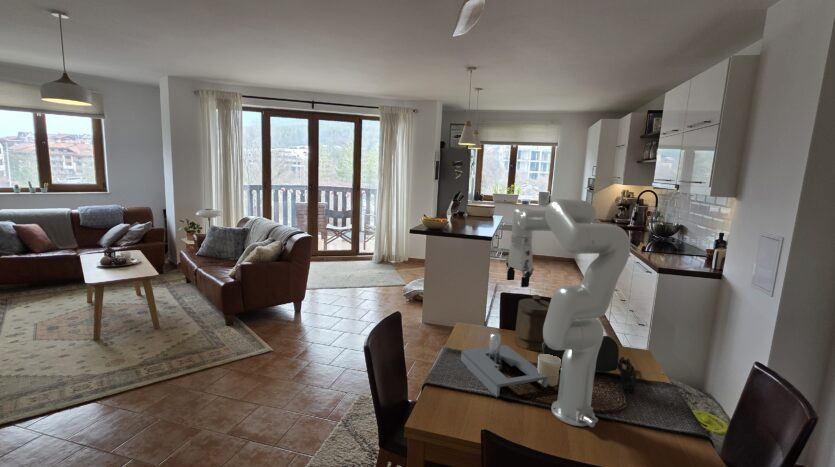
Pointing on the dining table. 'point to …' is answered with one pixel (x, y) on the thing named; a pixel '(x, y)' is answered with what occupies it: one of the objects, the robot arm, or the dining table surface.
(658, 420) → the dining table surface
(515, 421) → the dining table surface
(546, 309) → the wooden container
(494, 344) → the steel peg
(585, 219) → the robot arm
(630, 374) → the decorative element
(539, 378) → the keyhole plate
